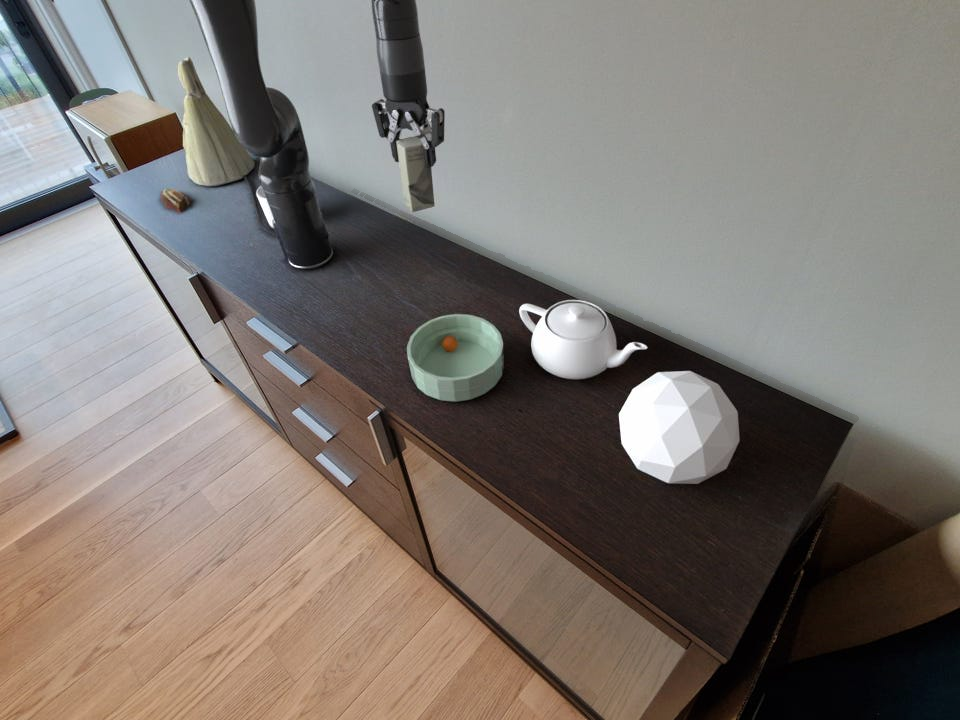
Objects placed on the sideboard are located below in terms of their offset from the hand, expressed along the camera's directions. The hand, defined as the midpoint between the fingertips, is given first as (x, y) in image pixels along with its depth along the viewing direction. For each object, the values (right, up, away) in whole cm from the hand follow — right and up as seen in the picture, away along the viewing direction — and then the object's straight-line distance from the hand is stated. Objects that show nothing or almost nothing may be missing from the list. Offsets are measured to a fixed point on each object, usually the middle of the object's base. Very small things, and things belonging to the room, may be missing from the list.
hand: (414, 163), depth 99 cm
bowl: (+9, -39, -11) cm, 41 cm away
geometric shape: (+38, -51, -26) cm, 69 cm away
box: (0, -6, +6) cm, 9 cm away
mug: (-32, -3, +27) cm, 42 cm away
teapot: (+28, -37, -11) cm, 48 cm away
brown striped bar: (-66, +4, +36) cm, 76 cm away
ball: (+7, -34, -10) cm, 36 cm away
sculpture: (-59, +15, +47) cm, 76 cm away
